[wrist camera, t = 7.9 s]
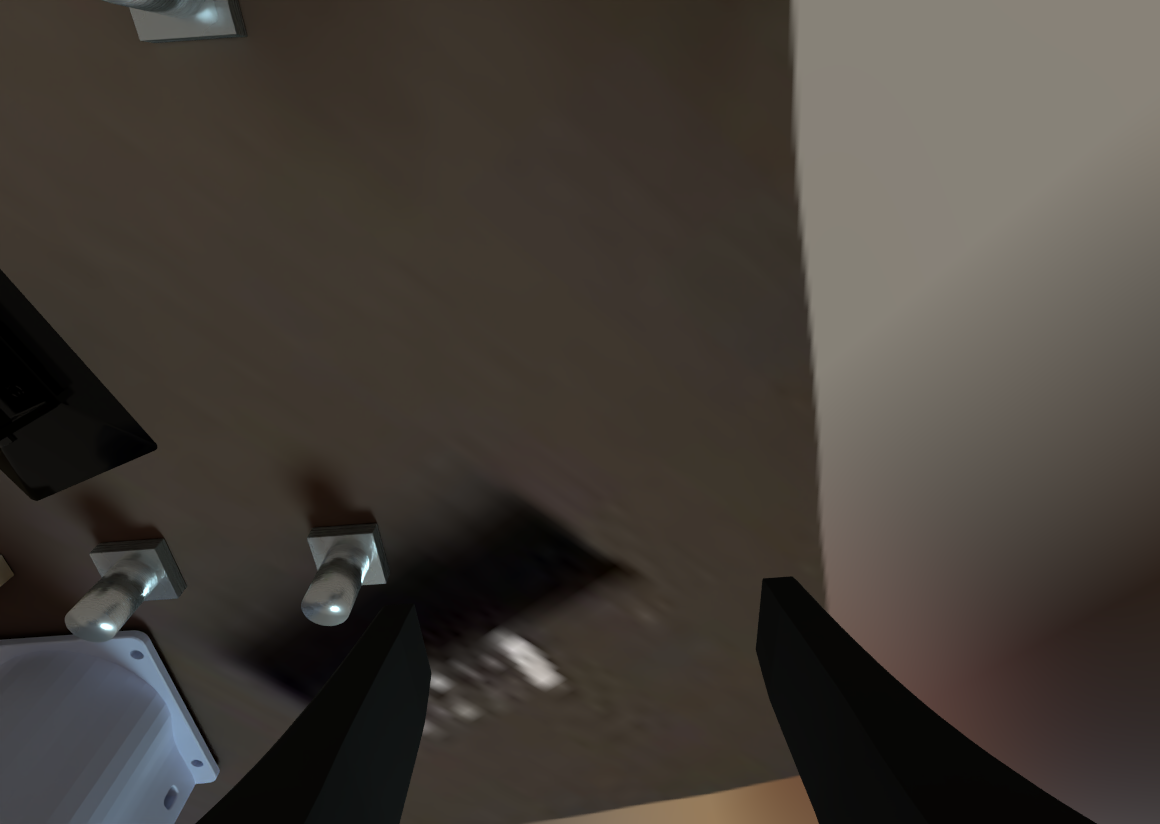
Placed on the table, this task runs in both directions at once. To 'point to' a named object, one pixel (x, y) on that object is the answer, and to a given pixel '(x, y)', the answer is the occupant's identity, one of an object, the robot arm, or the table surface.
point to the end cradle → (4, 571)
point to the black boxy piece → (55, 407)
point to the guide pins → (146, 567)
